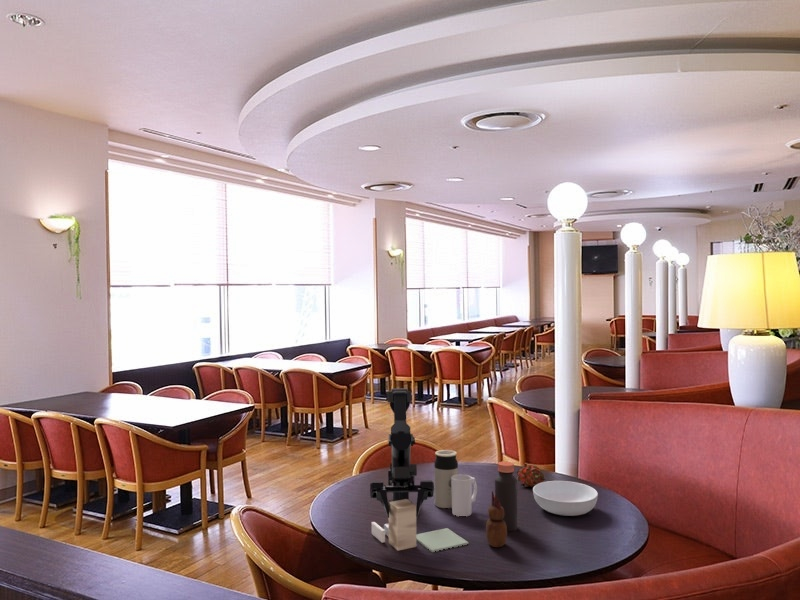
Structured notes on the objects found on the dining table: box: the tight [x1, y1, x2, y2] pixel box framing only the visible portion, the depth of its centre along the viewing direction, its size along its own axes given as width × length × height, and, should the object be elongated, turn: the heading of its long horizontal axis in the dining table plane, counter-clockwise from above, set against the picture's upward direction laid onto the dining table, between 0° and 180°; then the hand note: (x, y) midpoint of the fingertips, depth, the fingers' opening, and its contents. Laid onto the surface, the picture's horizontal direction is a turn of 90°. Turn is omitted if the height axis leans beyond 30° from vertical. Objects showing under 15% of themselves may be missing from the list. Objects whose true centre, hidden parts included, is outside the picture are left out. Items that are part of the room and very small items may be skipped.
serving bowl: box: [532, 480, 599, 517], centre depth 206 cm, size 21×21×7 cm
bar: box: [383, 522, 389, 538], centre depth 186 cm, size 7×3×3 cm, turn 26°
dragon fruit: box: [516, 464, 546, 488], centre depth 232 cm, size 8×8×12 cm
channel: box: [371, 521, 386, 544], centre depth 187 cm, size 8×10×4 cm
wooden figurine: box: [485, 491, 508, 548], centre depth 180 cm, size 7×6×15 cm
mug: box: [451, 473, 478, 517], centre depth 206 cm, size 10×7×12 cm, turn 125°
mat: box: [416, 527, 469, 553], centre depth 183 cm, size 12×12×1 cm
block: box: [388, 499, 417, 552], centre depth 180 cm, size 6×6×12 cm
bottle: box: [494, 460, 518, 533], centre depth 192 cm, size 7×7×20 cm
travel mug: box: [433, 449, 459, 509], centre depth 213 cm, size 8×8×18 cm
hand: (402, 516), depth 179 cm, fingers closed on block, 8 cm apart
